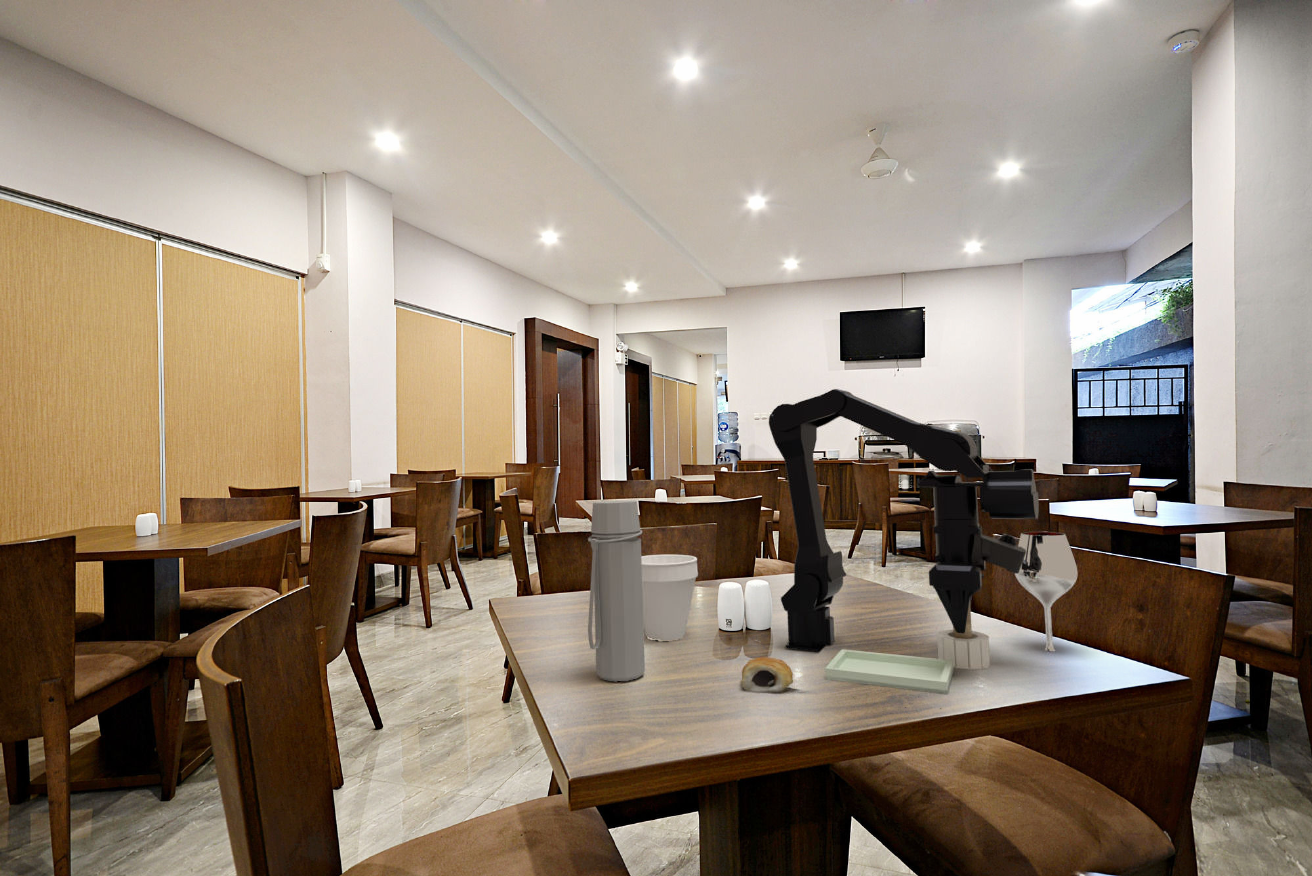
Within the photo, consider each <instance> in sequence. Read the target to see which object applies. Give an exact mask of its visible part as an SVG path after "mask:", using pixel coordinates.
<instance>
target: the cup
mask: <svg viewBox="0 0 1312 876" xmlns="http://www.w3.org/2000/svg"><path fill="white" fill-rule="evenodd" d="M641 559H642V591H643V623H644V635H645V637H646V636H647V637H649V638H652V639H660V640H674V639H680V638H682V637H684V636H685V637H686V633H687V632H686V631H687V626H688V622H689V616H690V610H691V606H692V599H693V595H694V589H695V584H696V578H697V577H699V571H698V562H697V561H698V558H697V557H696V556H694V555H687V554H685V555H684V554H649V555H641ZM685 637H684V638H685ZM680 640H681V639H680Z"/></svg>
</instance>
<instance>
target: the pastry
mask: <svg viewBox="0 0 1312 876" xmlns="http://www.w3.org/2000/svg"><path fill="white" fill-rule="evenodd" d="M793 675H794V673H793V671H792V669H791V667H790V666H789V665H788V664H787V663H786V662H785V661H784V660H783V659H779V658H776V657H773V656H772V657H769V656H758V657H756V658H751V659H749V660H748V661H747V662H746V663H745V665H744V666H743V667H742V670H741V680H740V685H741V687H742V689H744V691H745V692H752V693H782V692H786V691H788V690H790V689H791V687H789V686H790V685H791V684H793V682H794V680H793V677H794V676H793Z"/></svg>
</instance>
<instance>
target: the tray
mask: <svg viewBox="0 0 1312 876" xmlns="http://www.w3.org/2000/svg"><path fill="white" fill-rule="evenodd" d="M954 669H955V667H953V660H945V659H938V658H934V657H933V658H932V657H923V656H922V657H921V656H915V655H914V656H913V655H902V654H894V653H882V652H872V651H862V650H855V649H854V650H852V649H843V648H842V649H841V650H840V651H839V652H838V653H837V654H836V655H835V656H834V658H832V659H831V661H830V662H829V663H828V664H827V666H826V667H825V668H824V678H825V679H824V680H827V681H828V680H829V681H836V682H842V683H843V682H844V683H852V684H862V685H868V686H877V687H883V688H884V687H885V688H893V689H901V690H909V691H911V690H912V691H918V692H926V693H927V692H928V693H933V694H935V693H936V694H942V695H948V694H949V691H950V690H949V689H950V686H951V683H952V679H953V676H954V672H955V670H954Z"/></svg>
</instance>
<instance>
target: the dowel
mask: <svg viewBox="0 0 1312 876" xmlns="http://www.w3.org/2000/svg"><path fill="white" fill-rule="evenodd" d="M971 612H972V609H971V605H970V602H969V609H968V616H967V623H966V630H965V633H957V632H956V631H955V629H954V626H953V625H952V630H953V635H954V637H955V638H962V639H972V631H973V630H972V628H973V627H972V613H971Z"/></svg>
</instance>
